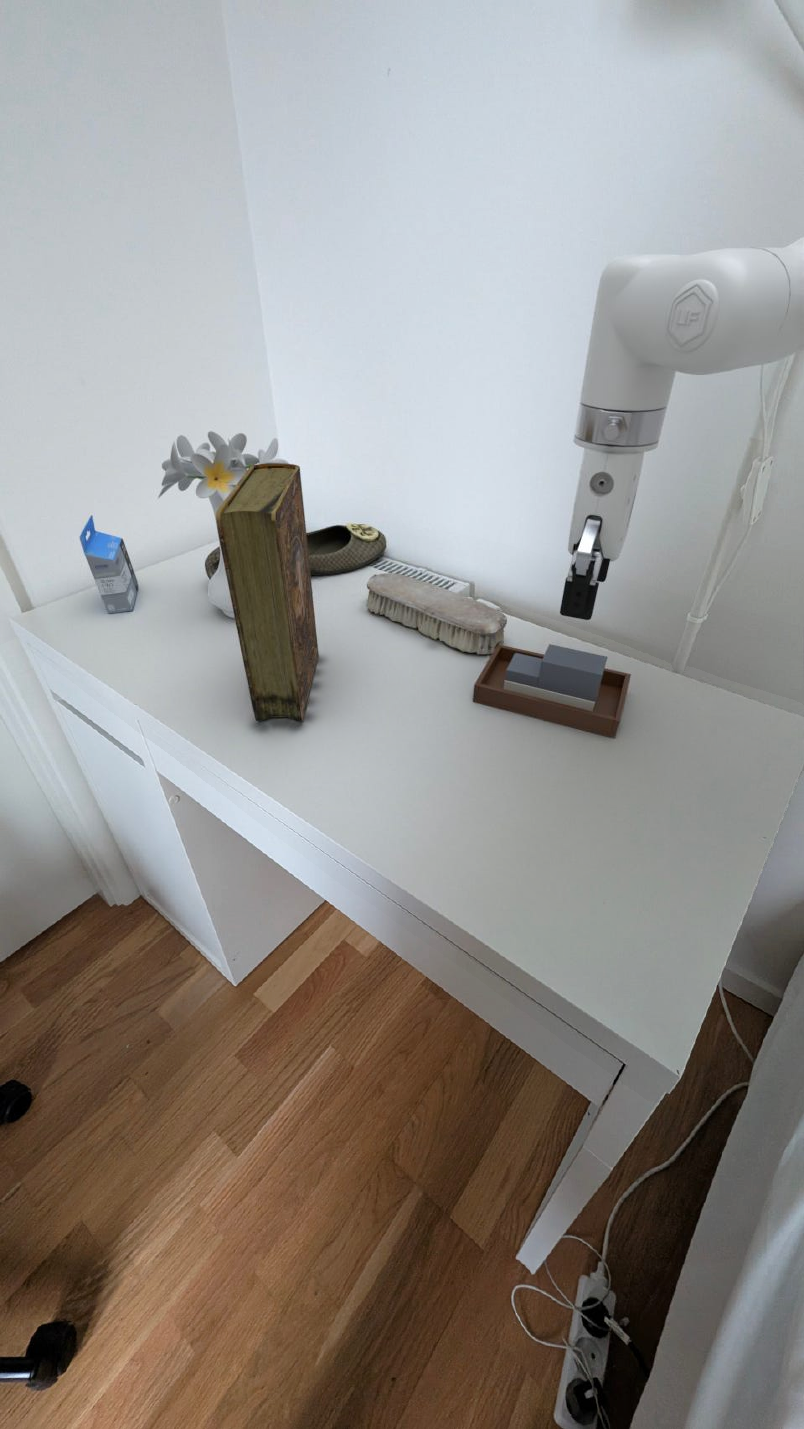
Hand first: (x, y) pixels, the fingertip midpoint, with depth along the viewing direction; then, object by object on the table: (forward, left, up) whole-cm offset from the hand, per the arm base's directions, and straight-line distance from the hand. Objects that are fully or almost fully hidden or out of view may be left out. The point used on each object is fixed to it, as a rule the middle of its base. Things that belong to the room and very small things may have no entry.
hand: (583, 597), depth 63 cm
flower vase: (+50, -4, -14) cm, 52 cm away
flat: (+49, -20, -14) cm, 55 cm away
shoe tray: (+1, 0, -14) cm, 14 cm away
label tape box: (+69, +2, -14) cm, 71 cm away
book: (+32, +11, -14) cm, 37 cm away
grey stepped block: (+1, 0, -14) cm, 14 cm away
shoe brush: (+22, -10, -14) cm, 28 cm away
